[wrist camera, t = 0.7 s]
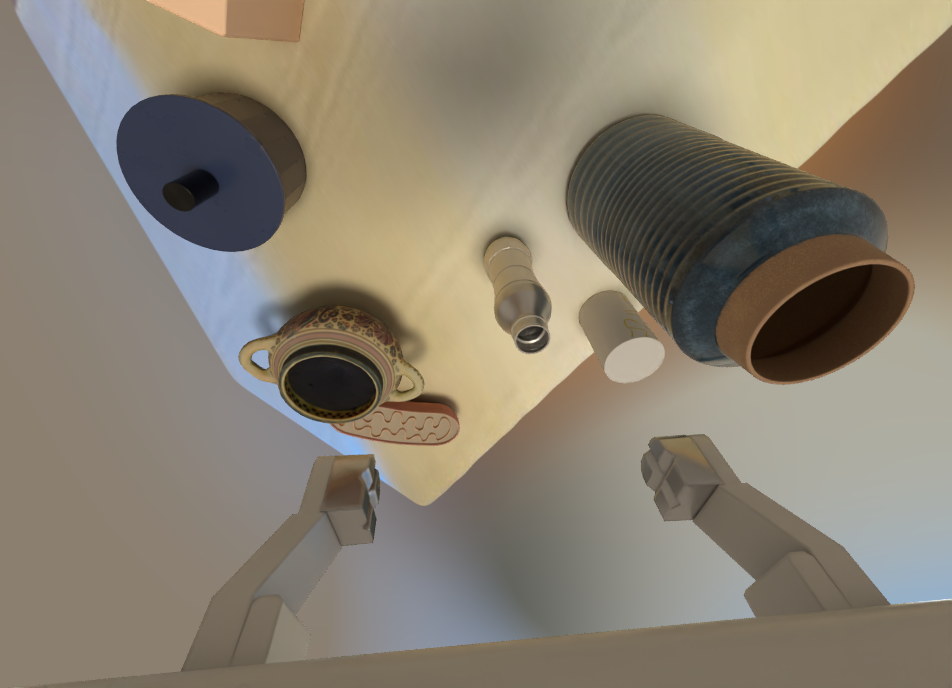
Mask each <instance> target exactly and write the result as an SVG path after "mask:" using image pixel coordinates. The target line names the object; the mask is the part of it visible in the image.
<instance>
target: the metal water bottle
mask: <svg viewBox="0 0 952 688" xmlns="http://www.w3.org/2000/svg"><path fill="white" fill-rule="evenodd" d="M484 268H485V271H486V273H487V275H488V277H489V279H490V280H491V282H492V284H493V287H494V294H495V300H494V313H495V318H496V321H497V323H498V324H499V325H500V327H501V328H502V329H503V330H504V331H505V332H506V333H508V334H510V335H512V338H513V340H514V342H515V345H516V347H517V348H518V350H520V351H521V352H523V353H526V354H535V353H538V352H540V351H542V350H544V349H545V348H546V347H547V345H548V344H549V341H550V333H549V330H548V325H547V323H548V322H549V319H550V317H551V309H552V305H551V300H550V297H549V296H548V294H547V292H546V291H545V289H544V288H543V287H542V286H541V284H540V283H539V282H538V281H537V279H536V277H535V275H534V273H533V269H532V260H531V254H530V252H529V250H528V248H527V247H526V246H525V245H524V244H523V243H522V242H521V241H520V240H518V239H516V238H514V237H502V238H499V239H497V240H495V241H494V242H492V243H491V244H490V245H489V247H488V248H487V251H486V253H485V258H484Z"/></svg>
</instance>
